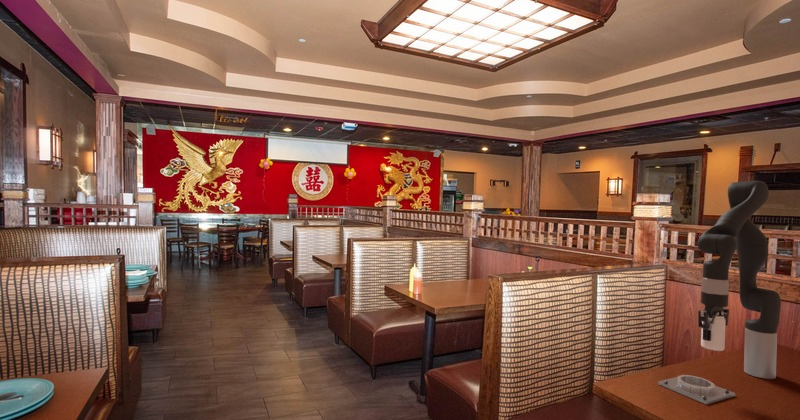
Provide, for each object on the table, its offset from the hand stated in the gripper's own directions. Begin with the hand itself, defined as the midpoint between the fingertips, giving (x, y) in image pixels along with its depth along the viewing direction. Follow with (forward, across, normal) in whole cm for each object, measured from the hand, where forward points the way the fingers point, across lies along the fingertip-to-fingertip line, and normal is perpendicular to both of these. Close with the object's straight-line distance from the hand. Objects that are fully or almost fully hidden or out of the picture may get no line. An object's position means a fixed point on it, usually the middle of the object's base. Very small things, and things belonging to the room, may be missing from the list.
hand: (712, 339), depth 140 cm
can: (+3, 0, 0) cm, 3 cm away
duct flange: (+19, +3, -3) cm, 19 cm away
